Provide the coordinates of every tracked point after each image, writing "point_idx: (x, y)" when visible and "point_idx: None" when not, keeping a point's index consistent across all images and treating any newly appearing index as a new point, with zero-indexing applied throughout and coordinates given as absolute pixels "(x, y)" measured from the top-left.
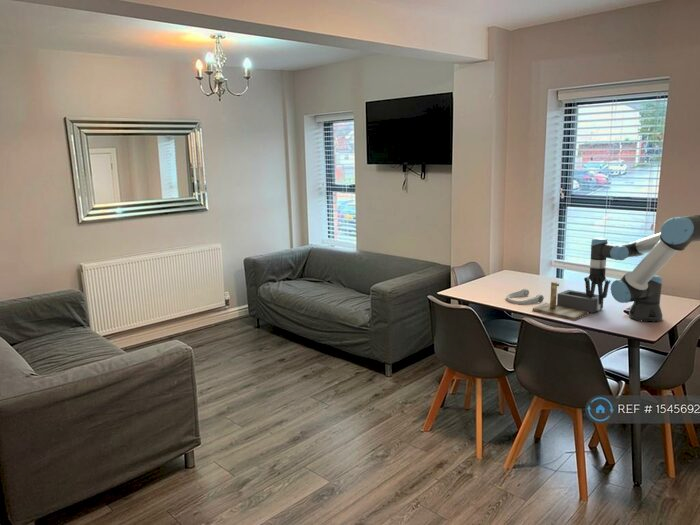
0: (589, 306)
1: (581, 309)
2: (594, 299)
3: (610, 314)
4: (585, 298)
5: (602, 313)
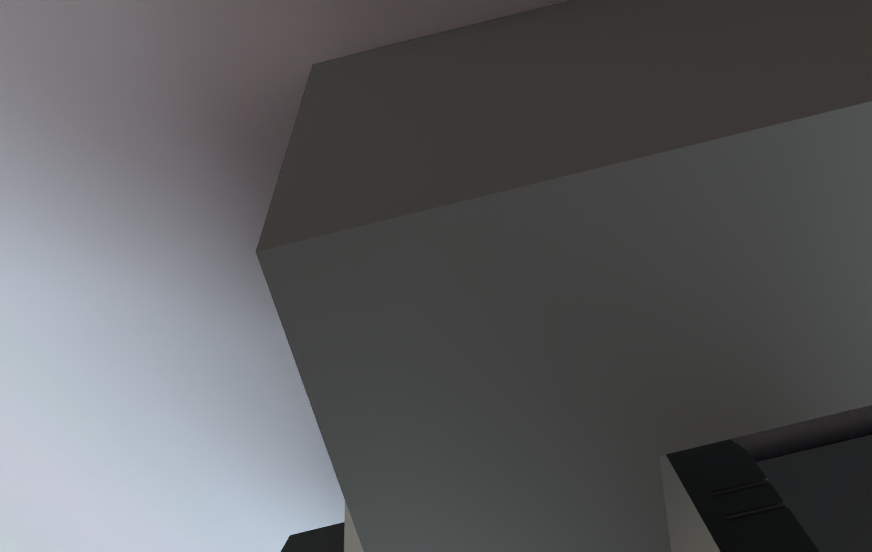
0: (456, 78)
1: None
2: (341, 445)
3: (52, 445)
4: None
5: (218, 351)
